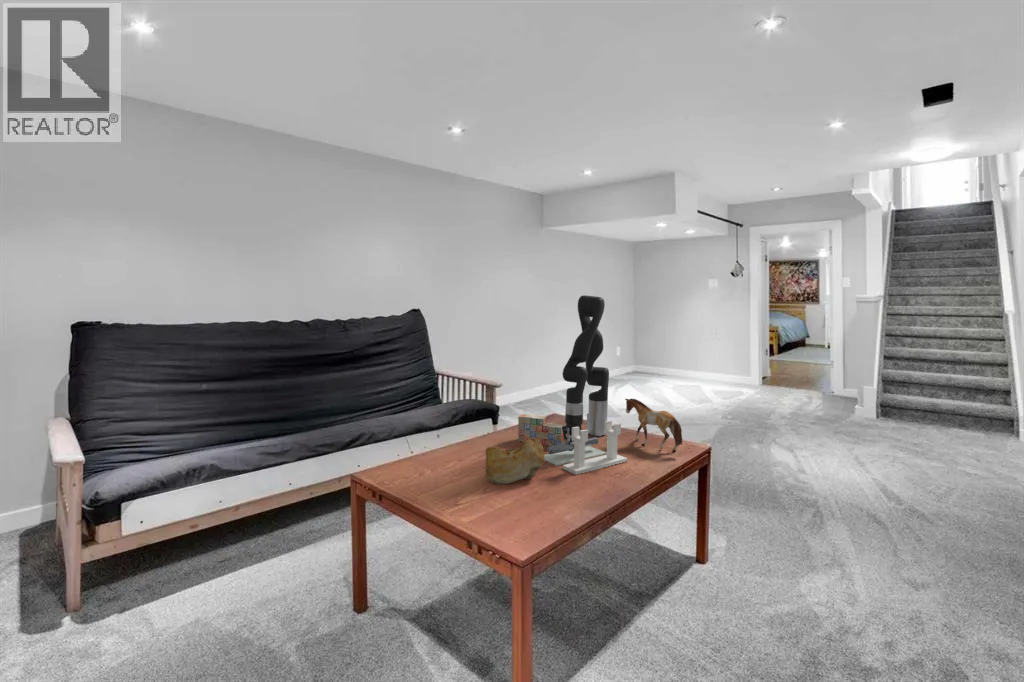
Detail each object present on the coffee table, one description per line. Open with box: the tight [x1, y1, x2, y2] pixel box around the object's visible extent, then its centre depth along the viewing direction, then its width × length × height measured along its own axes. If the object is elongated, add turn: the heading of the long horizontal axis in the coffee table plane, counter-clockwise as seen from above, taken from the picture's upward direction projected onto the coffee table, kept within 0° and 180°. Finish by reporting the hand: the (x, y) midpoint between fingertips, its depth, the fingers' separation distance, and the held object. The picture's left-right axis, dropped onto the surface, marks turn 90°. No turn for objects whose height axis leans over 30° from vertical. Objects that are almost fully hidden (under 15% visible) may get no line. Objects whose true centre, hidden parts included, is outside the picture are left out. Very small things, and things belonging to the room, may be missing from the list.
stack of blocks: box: [517, 413, 566, 447], centre depth 239 cm, size 21×6×12 cm, turn 64°
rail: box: [546, 436, 599, 454], centre depth 221 cm, size 26×3×3 cm, turn 124°
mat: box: [544, 445, 607, 467], centre depth 222 cm, size 12×28×1 cm, turn 124°
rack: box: [562, 420, 628, 476], centre depth 209 cm, size 8×28×16 cm, turn 124°
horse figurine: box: [624, 398, 683, 451], centre depth 234 cm, size 31×8×21 cm, turn 39°
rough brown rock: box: [485, 438, 545, 485], centre depth 196 cm, size 23×17×15 cm
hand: (573, 451), depth 221 cm, fingers closed on rail, 3 cm apart
